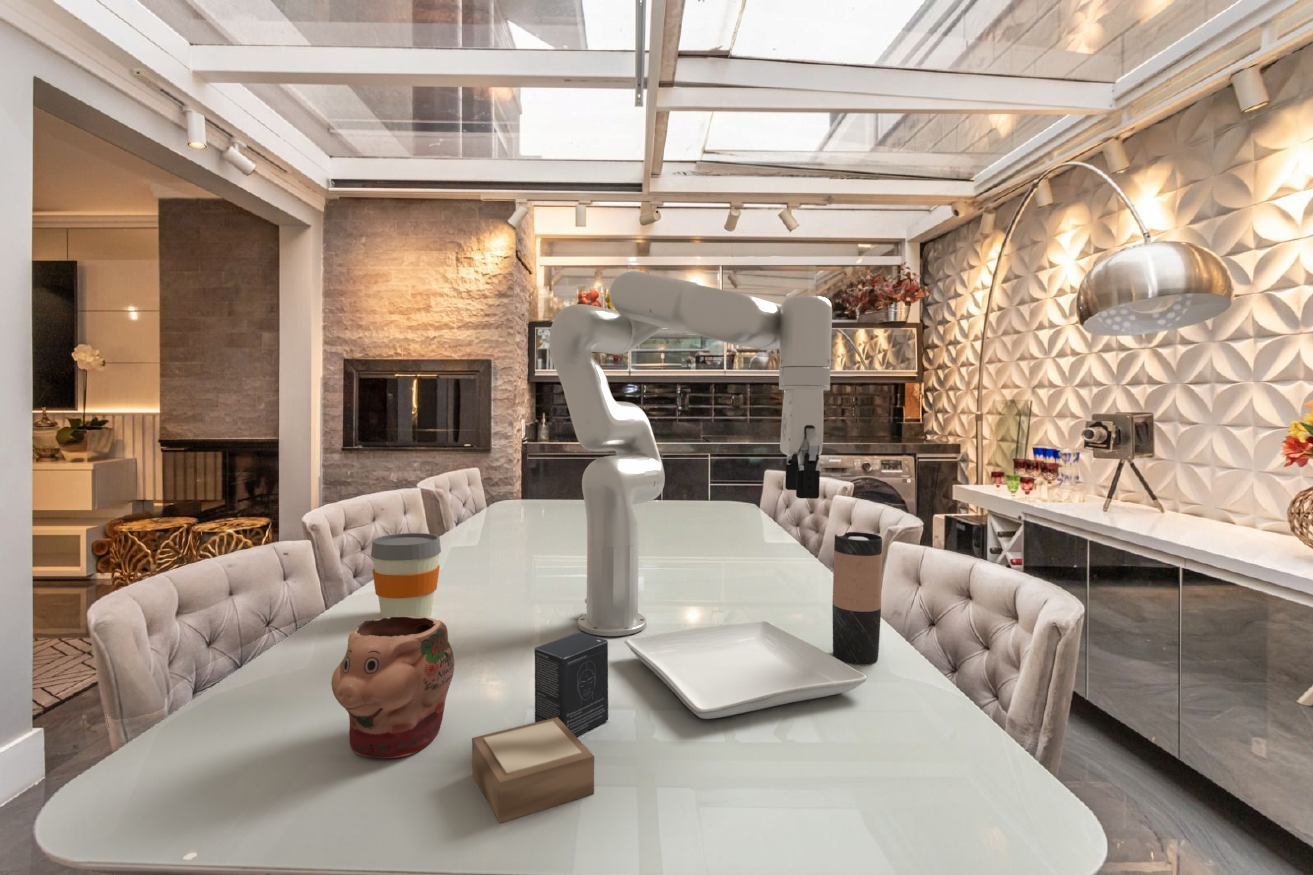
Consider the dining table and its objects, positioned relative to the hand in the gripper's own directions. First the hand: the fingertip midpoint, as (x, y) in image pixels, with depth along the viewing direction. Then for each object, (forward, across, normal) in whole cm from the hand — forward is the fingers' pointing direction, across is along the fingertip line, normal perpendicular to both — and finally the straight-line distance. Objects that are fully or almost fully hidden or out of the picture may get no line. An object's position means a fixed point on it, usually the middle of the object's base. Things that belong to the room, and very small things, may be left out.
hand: (801, 493), depth 100 cm
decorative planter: (+28, +22, -52) cm, 63 cm away
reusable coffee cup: (+28, -23, -70) cm, 79 cm away
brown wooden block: (+28, +32, -34) cm, 54 cm away
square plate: (+28, +2, -9) cm, 30 cm away
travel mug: (+28, -8, +11) cm, 31 cm away
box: (+28, +18, -32) cm, 46 cm away
